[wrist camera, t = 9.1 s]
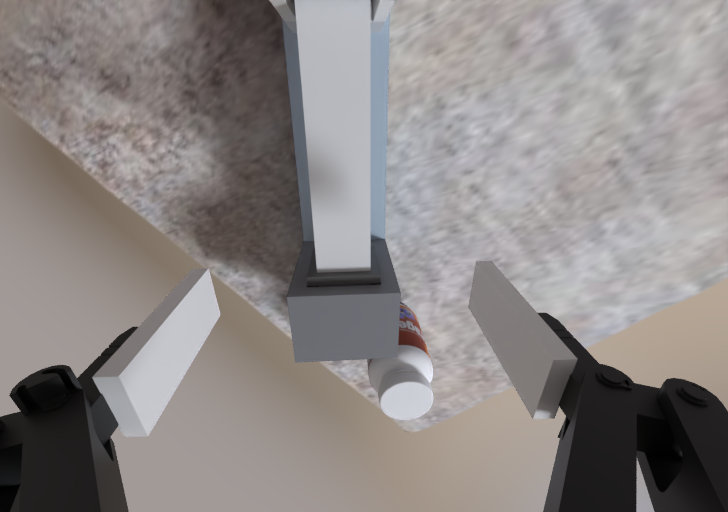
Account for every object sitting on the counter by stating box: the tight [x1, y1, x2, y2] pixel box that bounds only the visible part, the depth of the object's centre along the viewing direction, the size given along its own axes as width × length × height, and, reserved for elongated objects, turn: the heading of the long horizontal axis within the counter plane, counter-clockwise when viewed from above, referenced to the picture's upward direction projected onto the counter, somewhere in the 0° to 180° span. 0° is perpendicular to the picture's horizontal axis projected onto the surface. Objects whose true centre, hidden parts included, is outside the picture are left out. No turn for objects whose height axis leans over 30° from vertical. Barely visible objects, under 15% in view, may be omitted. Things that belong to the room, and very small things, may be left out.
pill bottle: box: [367, 304, 433, 420], centre depth 32 cm, size 6×6×11 cm
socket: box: [287, 239, 401, 362], centre depth 28 cm, size 6×8×10 cm
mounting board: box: [282, 13, 390, 242], centre depth 27 cm, size 32×8×1 cm, turn 0°
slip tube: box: [295, 0, 381, 287], centre depth 22 cm, size 24×5×5 cm, turn 0°
